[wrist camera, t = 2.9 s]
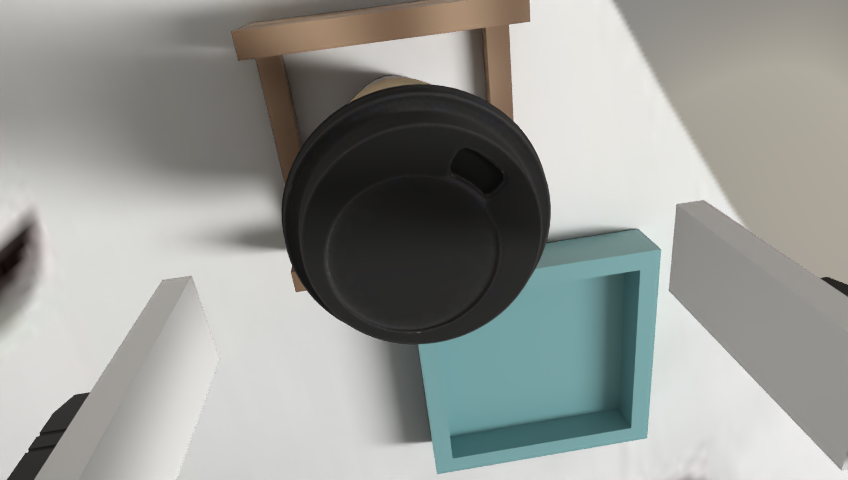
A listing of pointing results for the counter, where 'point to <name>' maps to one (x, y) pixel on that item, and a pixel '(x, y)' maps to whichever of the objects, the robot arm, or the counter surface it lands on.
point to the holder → (438, 13)
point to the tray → (551, 359)
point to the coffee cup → (416, 212)
